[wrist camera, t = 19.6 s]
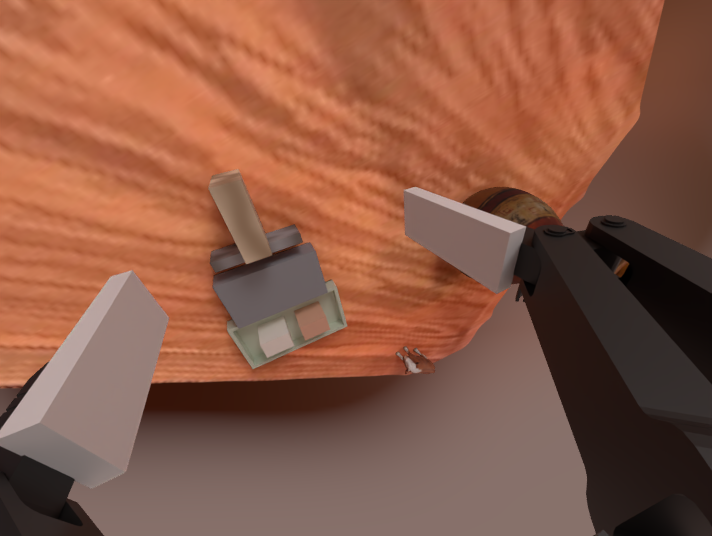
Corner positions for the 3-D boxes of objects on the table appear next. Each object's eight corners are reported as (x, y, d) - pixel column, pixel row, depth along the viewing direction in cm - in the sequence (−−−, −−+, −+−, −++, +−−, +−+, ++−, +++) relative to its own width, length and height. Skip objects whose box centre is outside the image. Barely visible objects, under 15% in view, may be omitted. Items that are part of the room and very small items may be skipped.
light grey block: (257, 326, 47) (264, 338, 49) (260, 345, 43) (267, 357, 45) (283, 315, 48) (289, 328, 50) (288, 332, 44) (294, 345, 46)
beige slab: (216, 260, 39) (214, 287, 33) (173, 185, 32) (160, 201, 26) (297, 233, 42) (309, 253, 36) (272, 160, 36) (282, 168, 29)
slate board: (238, 316, 45) (238, 329, 42) (213, 275, 40) (212, 287, 37) (322, 282, 49) (327, 292, 46) (309, 242, 44) (315, 250, 41)
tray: (252, 359, 51) (252, 369, 49) (227, 321, 44) (227, 330, 43) (343, 318, 56) (347, 326, 54) (332, 279, 49) (336, 286, 47)
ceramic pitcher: (495, 161, 52) (716, 196, 29) (510, 228, 65) (674, 290, 41) (424, 225, 53) (585, 311, 29) (453, 279, 65) (582, 370, 41)
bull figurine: (396, 339, 67) (414, 363, 61) (424, 349, 75) (442, 371, 69) (386, 352, 68) (403, 376, 62) (415, 360, 76) (432, 383, 69)
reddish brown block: (293, 310, 49) (299, 323, 51) (299, 327, 45) (305, 340, 47) (318, 301, 50) (322, 313, 52) (326, 316, 46) (330, 329, 48)
